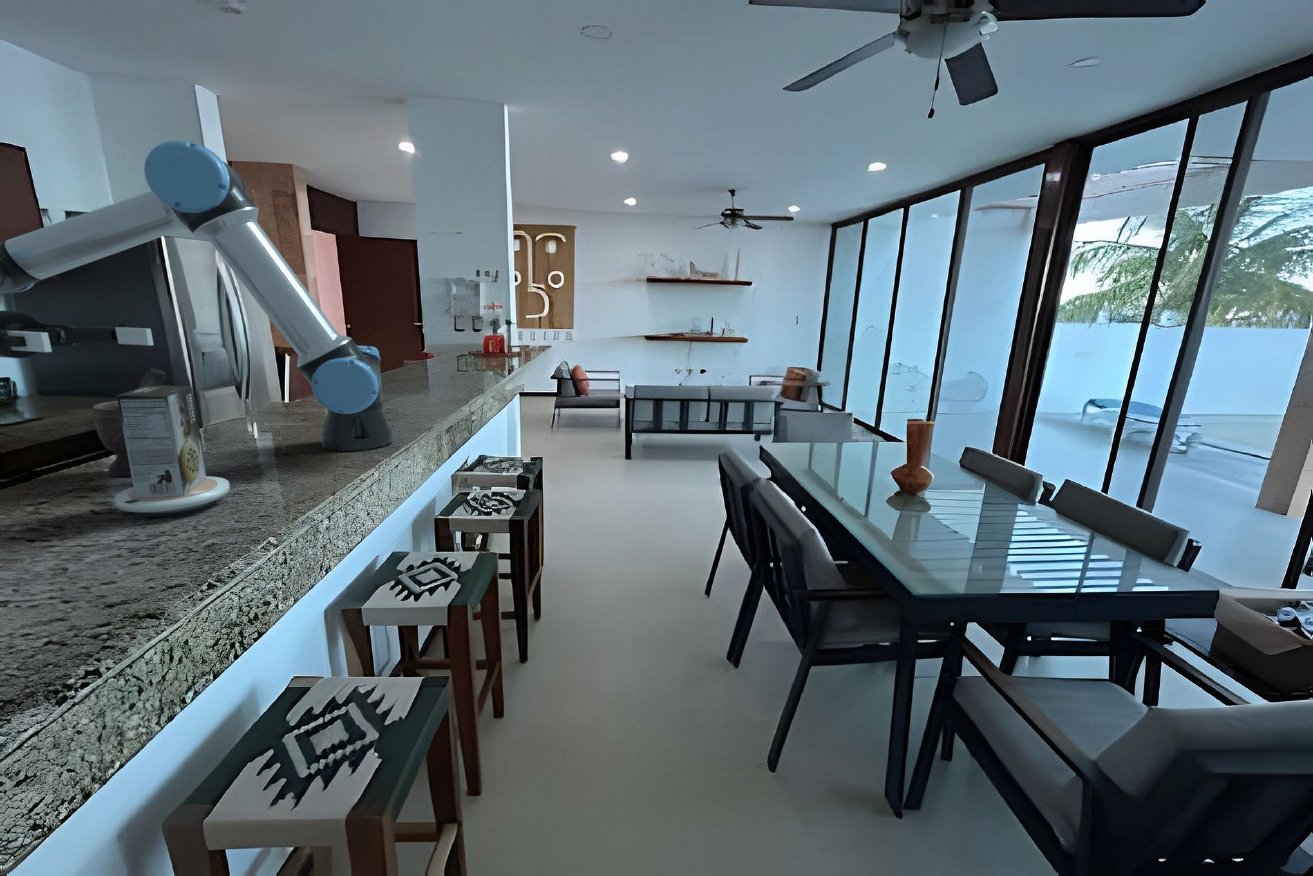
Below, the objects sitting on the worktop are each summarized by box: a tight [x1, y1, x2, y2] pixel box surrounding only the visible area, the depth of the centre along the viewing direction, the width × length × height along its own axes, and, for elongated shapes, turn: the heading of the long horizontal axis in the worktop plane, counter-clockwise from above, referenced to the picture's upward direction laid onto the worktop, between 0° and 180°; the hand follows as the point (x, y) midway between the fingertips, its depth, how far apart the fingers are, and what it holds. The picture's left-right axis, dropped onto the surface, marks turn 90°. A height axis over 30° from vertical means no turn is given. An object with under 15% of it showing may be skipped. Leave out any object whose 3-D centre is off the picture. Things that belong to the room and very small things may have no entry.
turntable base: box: [135, 499, 217, 519], centre depth 90 cm, size 10×10×2 cm
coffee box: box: [115, 385, 207, 499], centre depth 88 cm, size 9×6×16 cm
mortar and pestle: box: [92, 368, 166, 477], centre depth 104 cm, size 12×9×20 cm
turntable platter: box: [114, 475, 231, 513], centre depth 90 cm, size 14×14×1 cm
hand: (102, 339), depth 86 cm, fingers open, 13 cm apart
